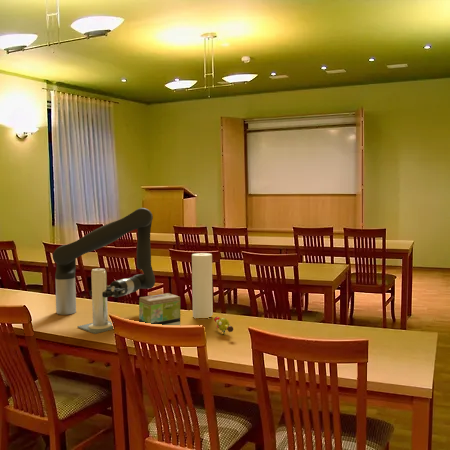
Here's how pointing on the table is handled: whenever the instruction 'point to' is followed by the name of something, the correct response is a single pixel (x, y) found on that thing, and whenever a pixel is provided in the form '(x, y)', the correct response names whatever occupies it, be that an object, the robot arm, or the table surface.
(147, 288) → the robot arm
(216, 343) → the table surface
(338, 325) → the table surface
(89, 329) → the plate
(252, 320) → the table surface
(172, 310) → the tea box
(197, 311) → the cylinder container
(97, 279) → the tall cream cylinder
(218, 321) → the toy figure
